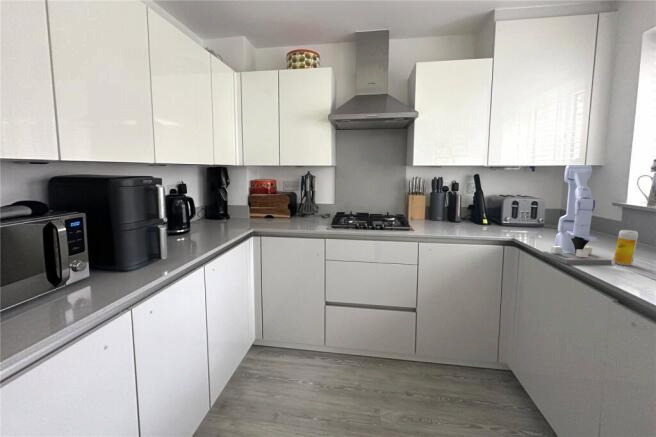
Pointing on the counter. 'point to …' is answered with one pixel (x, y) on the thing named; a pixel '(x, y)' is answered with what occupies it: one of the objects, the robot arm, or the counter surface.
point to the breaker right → (588, 249)
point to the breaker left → (556, 249)
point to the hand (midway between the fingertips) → (578, 253)
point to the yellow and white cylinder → (625, 247)
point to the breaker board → (577, 258)
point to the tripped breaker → (582, 253)
